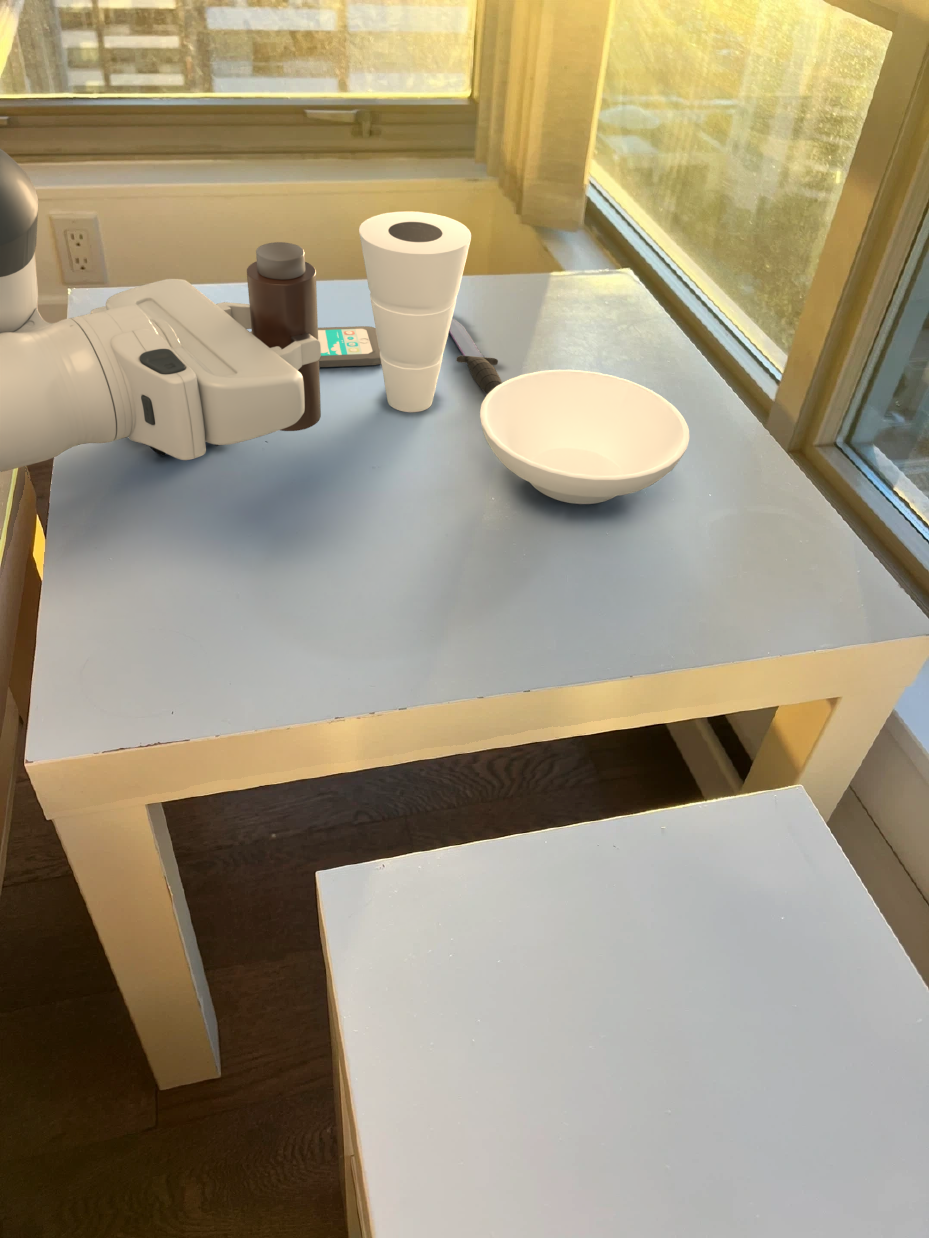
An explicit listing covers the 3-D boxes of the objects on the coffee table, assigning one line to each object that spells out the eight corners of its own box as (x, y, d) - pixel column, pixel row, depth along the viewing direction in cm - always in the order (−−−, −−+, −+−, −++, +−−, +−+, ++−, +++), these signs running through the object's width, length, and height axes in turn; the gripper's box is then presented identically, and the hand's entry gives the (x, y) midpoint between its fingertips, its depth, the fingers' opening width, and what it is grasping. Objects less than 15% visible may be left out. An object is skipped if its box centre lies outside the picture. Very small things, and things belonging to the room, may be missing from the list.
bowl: (434, 488, 91) (438, 426, 87) (539, 409, 104) (547, 350, 99) (616, 570, 84) (631, 506, 79) (705, 474, 96) (722, 414, 92)
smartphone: (387, 357, 108) (251, 362, 105) (387, 365, 108) (251, 370, 105) (376, 323, 114) (247, 327, 111) (376, 331, 114) (247, 335, 111)
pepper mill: (271, 436, 79) (258, 268, 69) (250, 406, 82) (235, 242, 73) (330, 424, 81) (325, 259, 72) (307, 395, 84) (300, 234, 75)
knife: (526, 389, 102) (481, 386, 100) (521, 410, 103) (477, 407, 102) (467, 306, 120) (429, 302, 118) (464, 324, 121) (426, 321, 120)
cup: (393, 367, 108) (396, 203, 96) (476, 394, 105) (490, 228, 93) (340, 407, 101) (336, 235, 89) (428, 437, 98) (436, 263, 86)
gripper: (82, 353, 78) (236, 317, 85) (196, 473, 67) (364, 420, 73) (66, 277, 74) (229, 245, 81) (185, 391, 62) (364, 343, 69)
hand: (294, 329), depth 77 cm, fingers closed on pepper mill, 5 cm apart
